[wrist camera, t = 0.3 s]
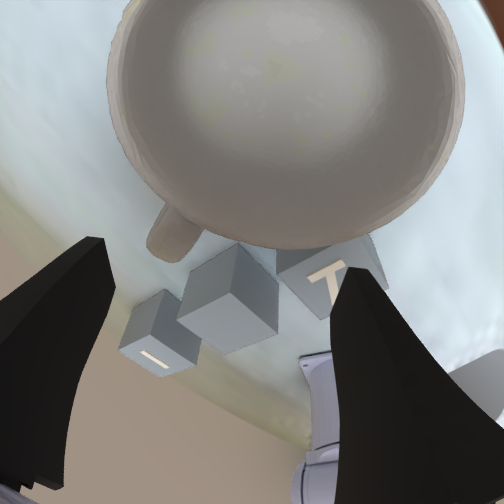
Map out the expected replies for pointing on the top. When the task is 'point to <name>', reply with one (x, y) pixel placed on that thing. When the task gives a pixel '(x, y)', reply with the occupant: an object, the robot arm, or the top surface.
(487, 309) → the top surface
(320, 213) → the teacup
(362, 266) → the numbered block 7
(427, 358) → the robot arm
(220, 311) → the plain block
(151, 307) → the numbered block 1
